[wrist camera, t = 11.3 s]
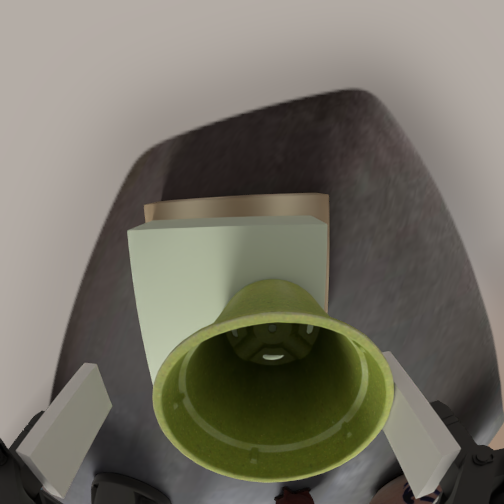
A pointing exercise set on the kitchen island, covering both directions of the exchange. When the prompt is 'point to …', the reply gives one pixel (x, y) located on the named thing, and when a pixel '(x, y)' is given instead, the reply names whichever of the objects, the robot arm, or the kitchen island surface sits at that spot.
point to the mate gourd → (295, 497)
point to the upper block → (216, 270)
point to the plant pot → (273, 388)
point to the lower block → (246, 210)
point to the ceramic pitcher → (402, 493)
